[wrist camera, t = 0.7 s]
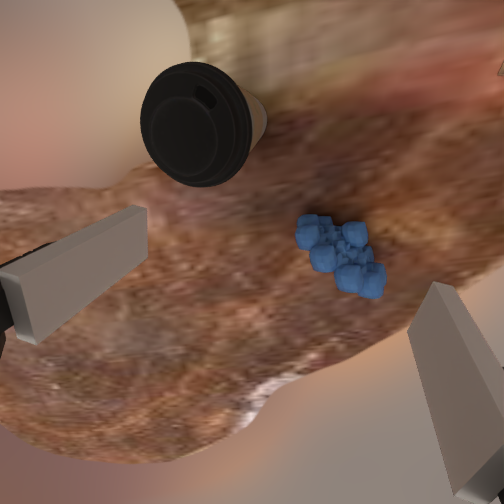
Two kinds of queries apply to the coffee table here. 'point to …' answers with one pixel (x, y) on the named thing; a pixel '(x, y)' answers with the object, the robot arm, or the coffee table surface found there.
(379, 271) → the grapes
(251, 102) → the coffee cup
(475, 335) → the robot arm
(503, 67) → the plate
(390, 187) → the coffee table surface
